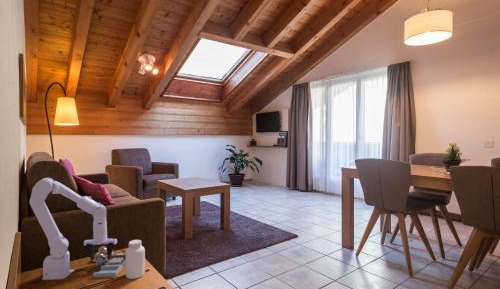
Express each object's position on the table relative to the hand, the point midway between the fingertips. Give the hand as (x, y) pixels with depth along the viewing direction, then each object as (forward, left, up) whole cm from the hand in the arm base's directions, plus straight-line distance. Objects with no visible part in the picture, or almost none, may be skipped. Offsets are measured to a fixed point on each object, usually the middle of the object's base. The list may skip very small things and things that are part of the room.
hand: (101, 259), depth 135 cm
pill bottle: (+19, -10, -4) cm, 22 cm away
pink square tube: (-3, +9, -4) cm, 10 cm away
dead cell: (-3, +9, -3) cm, 10 cm away
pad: (+6, +2, -2) cm, 7 cm away
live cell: (0, 0, -4) cm, 4 cm away
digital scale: (+6, +2, -4) cm, 8 cm away
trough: (+6, -7, -4) cm, 10 cm away
